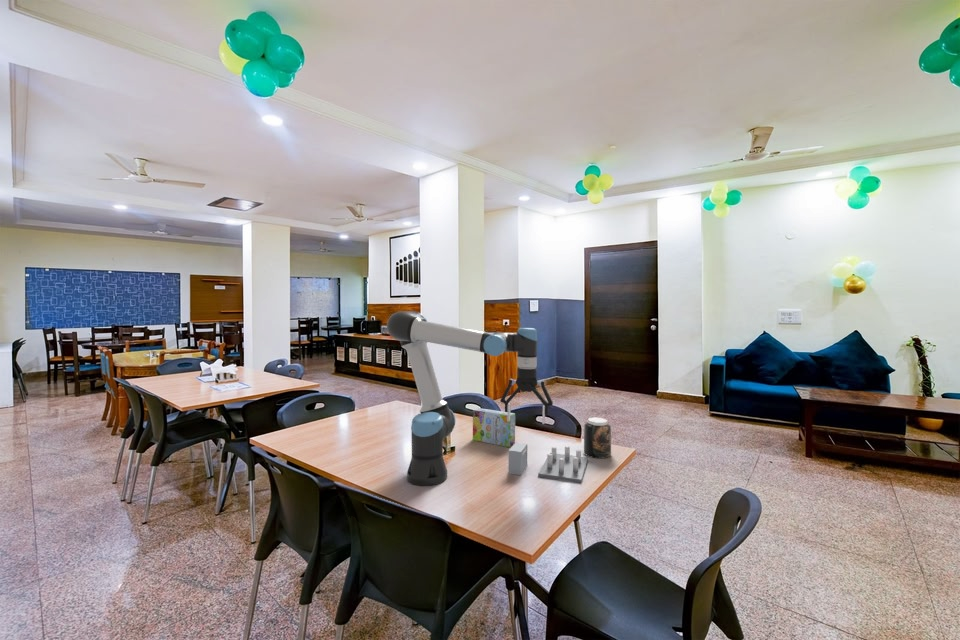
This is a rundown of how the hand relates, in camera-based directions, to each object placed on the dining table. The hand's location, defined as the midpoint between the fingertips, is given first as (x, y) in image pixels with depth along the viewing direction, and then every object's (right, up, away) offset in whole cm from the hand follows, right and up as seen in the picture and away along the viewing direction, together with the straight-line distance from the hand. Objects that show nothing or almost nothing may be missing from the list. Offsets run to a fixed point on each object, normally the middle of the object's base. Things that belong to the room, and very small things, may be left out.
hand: (526, 421), depth 156 cm
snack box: (-12, -19, +36) cm, 43 cm away
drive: (-3, -20, +3) cm, 20 cm away
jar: (+34, -20, +21) cm, 45 cm away
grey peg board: (+16, -20, +4) cm, 26 cm away
